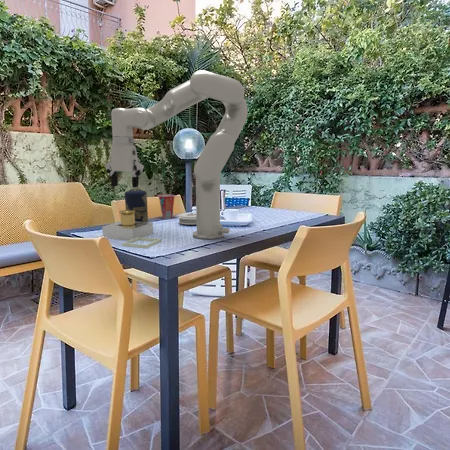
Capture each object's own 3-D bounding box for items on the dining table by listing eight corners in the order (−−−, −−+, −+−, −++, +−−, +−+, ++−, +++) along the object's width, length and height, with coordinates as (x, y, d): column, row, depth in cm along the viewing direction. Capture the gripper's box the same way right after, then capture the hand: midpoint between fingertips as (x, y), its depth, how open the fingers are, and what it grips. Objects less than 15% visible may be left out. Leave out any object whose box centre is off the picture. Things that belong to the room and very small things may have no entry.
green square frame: (161, 243, 132) (161, 238, 132) (146, 249, 123) (146, 245, 122) (138, 240, 135) (138, 236, 135) (122, 247, 126) (122, 242, 126)
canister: (142, 231, 153) (140, 189, 149) (122, 230, 155) (120, 189, 151) (151, 226, 162) (150, 187, 159) (132, 226, 164) (130, 187, 160)
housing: (153, 234, 147) (152, 222, 146) (133, 241, 134) (132, 229, 133) (124, 231, 151) (124, 220, 150) (103, 239, 139) (102, 226, 138)
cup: (167, 216, 191) (166, 193, 188) (178, 217, 186) (178, 194, 183) (154, 218, 183) (153, 195, 181) (166, 220, 178) (165, 196, 176)
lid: (174, 225, 166) (173, 215, 165) (186, 220, 178) (185, 211, 177) (198, 227, 162) (198, 216, 161) (209, 222, 173) (209, 212, 172)
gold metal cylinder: (139, 234, 144) (138, 210, 142) (130, 237, 139) (129, 212, 137) (127, 233, 146) (125, 209, 144) (117, 236, 141) (116, 211, 139)
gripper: (147, 142, 136) (149, 186, 139) (110, 142, 142) (112, 185, 145) (136, 141, 129) (138, 188, 132) (98, 141, 135) (100, 186, 138)
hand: (124, 186), depth 139 cm, fingers open, 9 cm apart
